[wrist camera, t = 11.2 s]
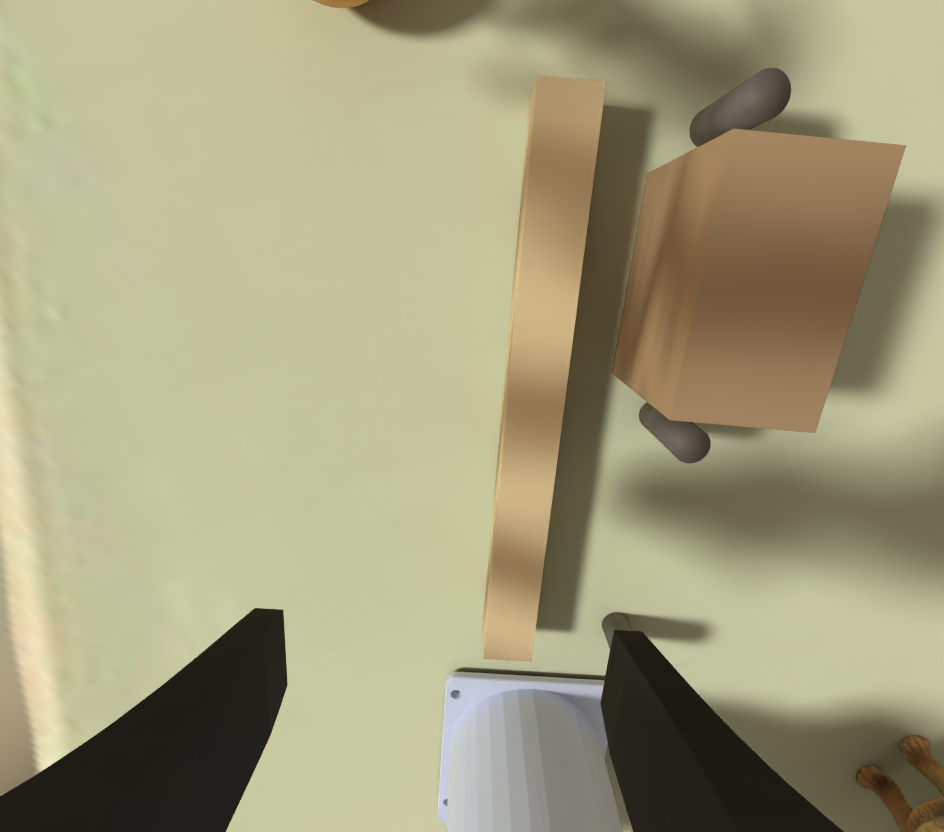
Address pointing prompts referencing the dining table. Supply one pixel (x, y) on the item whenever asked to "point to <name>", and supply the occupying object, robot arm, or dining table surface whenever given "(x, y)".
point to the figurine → (341, 3)
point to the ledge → (566, 335)
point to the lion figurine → (927, 826)
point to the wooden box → (751, 275)
